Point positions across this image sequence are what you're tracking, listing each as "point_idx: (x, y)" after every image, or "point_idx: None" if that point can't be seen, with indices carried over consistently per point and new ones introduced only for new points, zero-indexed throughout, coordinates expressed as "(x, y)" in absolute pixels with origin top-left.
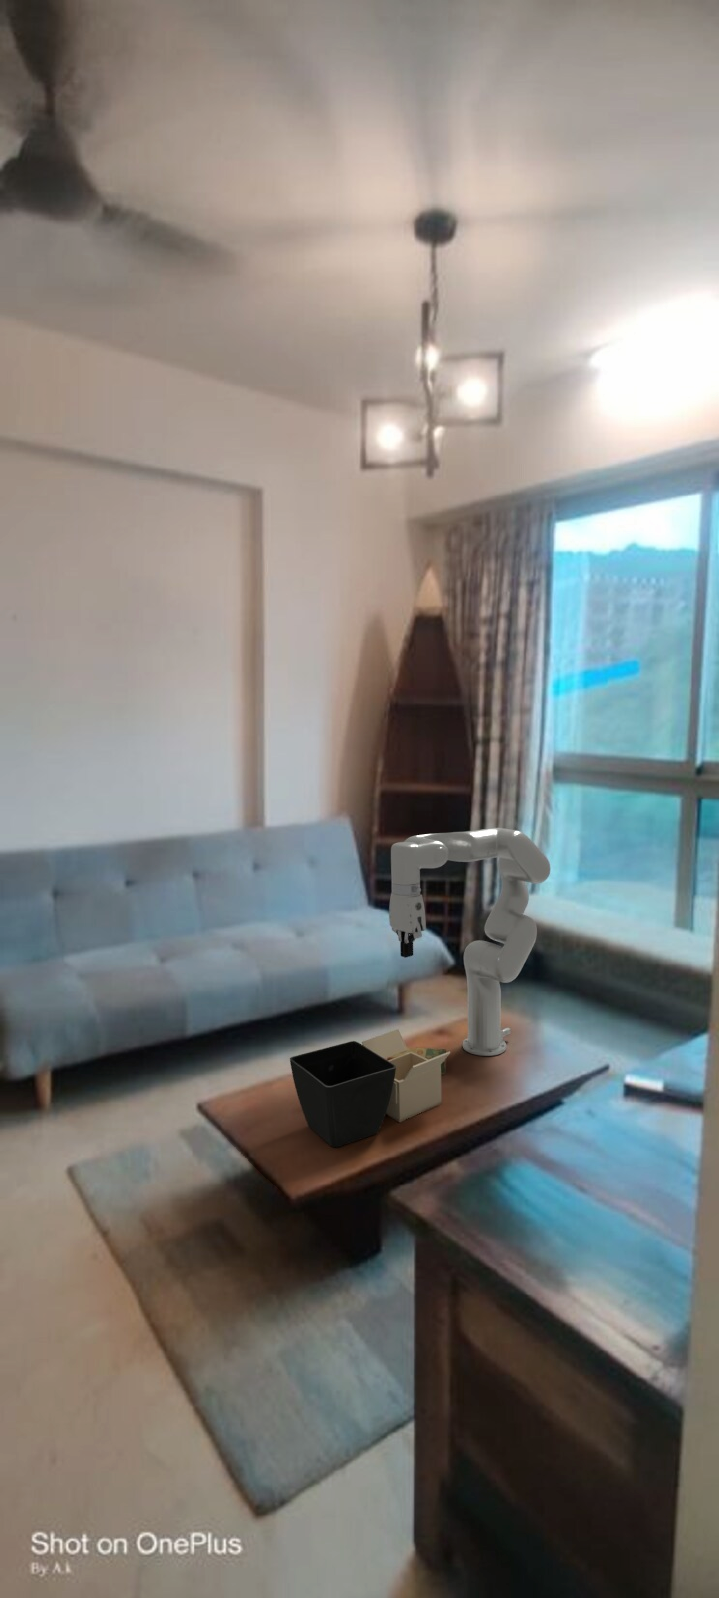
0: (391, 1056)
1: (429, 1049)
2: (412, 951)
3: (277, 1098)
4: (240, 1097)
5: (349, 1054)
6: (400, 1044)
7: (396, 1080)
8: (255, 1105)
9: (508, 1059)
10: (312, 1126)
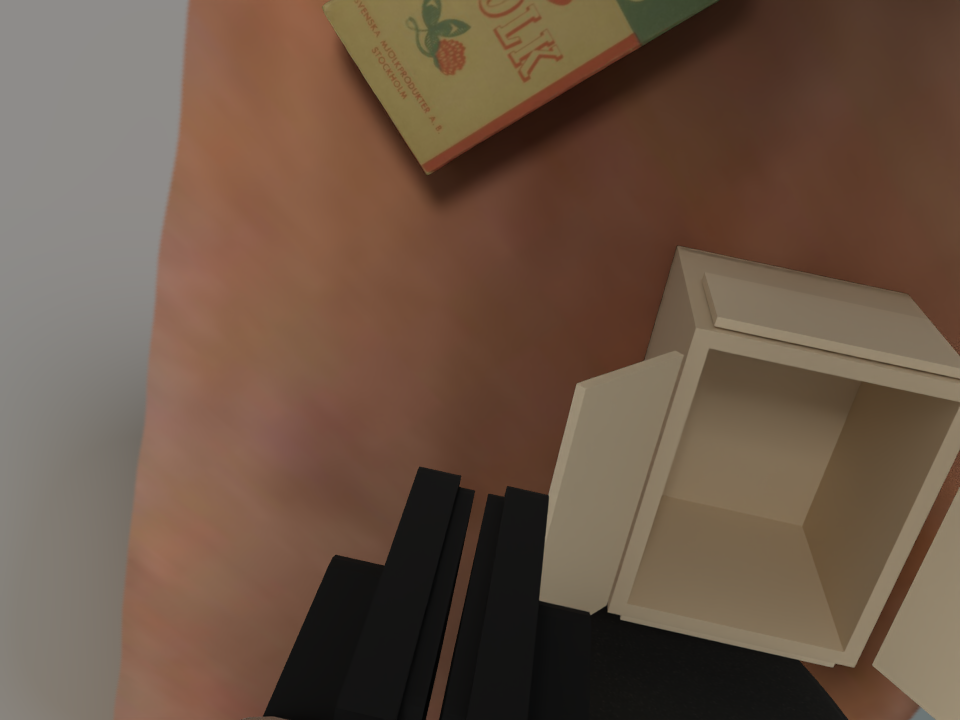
0: (433, 143)
1: None
2: (589, 639)
3: (249, 627)
4: (142, 683)
5: None
6: (644, 401)
7: (826, 655)
8: (234, 697)
9: None
10: None
